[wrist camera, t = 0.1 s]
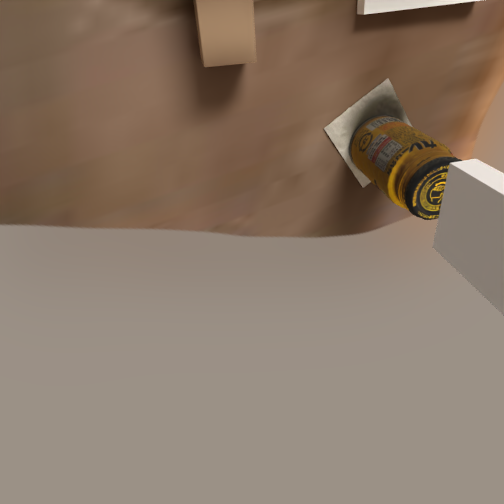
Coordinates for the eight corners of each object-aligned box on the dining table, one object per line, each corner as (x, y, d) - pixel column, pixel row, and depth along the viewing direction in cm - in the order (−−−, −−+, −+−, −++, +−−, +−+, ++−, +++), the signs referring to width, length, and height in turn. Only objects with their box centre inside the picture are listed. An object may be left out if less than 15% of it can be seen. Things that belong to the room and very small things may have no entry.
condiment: (362, 187, 42) (419, 244, 33) (323, 128, 38) (375, 173, 28) (420, 144, 41) (498, 191, 31) (386, 77, 36) (465, 107, 27)
